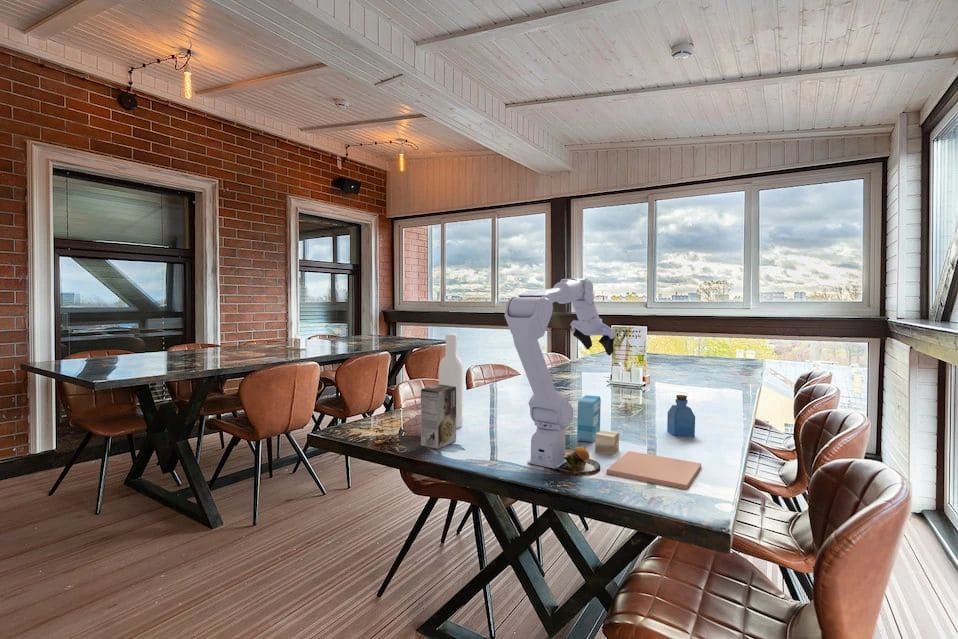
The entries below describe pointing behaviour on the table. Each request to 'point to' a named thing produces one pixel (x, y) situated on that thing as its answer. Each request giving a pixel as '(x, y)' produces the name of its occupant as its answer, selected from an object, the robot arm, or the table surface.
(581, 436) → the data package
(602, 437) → the birch cube
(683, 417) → the perfume bottle
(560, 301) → the robot arm
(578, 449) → the burger
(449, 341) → the bottle
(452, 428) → the coffee box
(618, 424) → the table surface
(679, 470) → the terracotta tile
